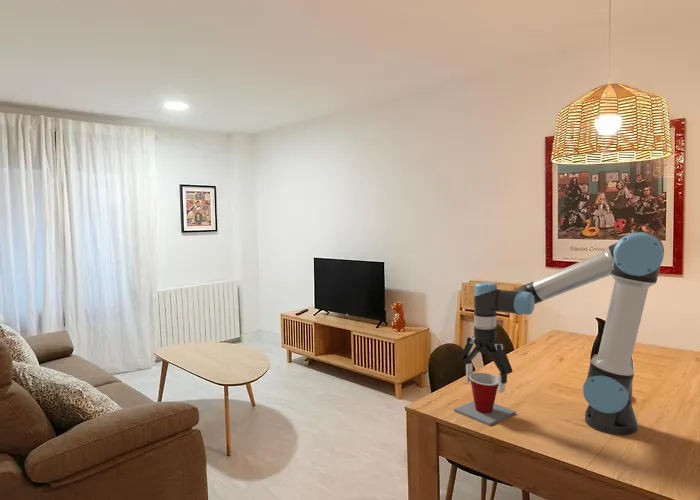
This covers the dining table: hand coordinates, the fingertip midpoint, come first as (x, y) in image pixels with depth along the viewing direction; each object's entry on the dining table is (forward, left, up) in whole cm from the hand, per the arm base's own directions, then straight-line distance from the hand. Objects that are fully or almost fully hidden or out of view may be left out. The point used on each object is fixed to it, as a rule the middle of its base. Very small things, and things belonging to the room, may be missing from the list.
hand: (484, 386), depth 163 cm
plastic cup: (0, 0, -9) cm, 9 cm away
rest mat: (0, 0, -9) cm, 9 cm away
